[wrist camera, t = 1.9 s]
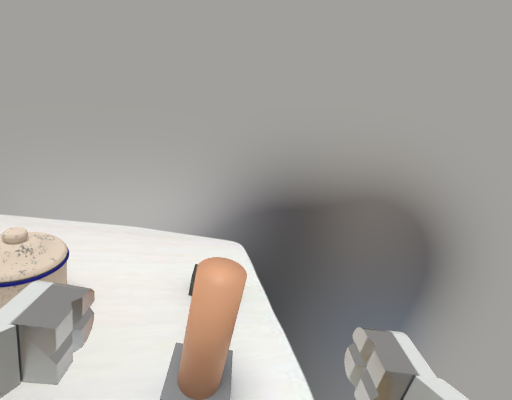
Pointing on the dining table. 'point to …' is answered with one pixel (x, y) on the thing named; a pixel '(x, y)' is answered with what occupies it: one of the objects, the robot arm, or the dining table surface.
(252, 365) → the dining table surface
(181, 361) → the slider with handle
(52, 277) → the teacup with lid
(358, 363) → the robot arm
